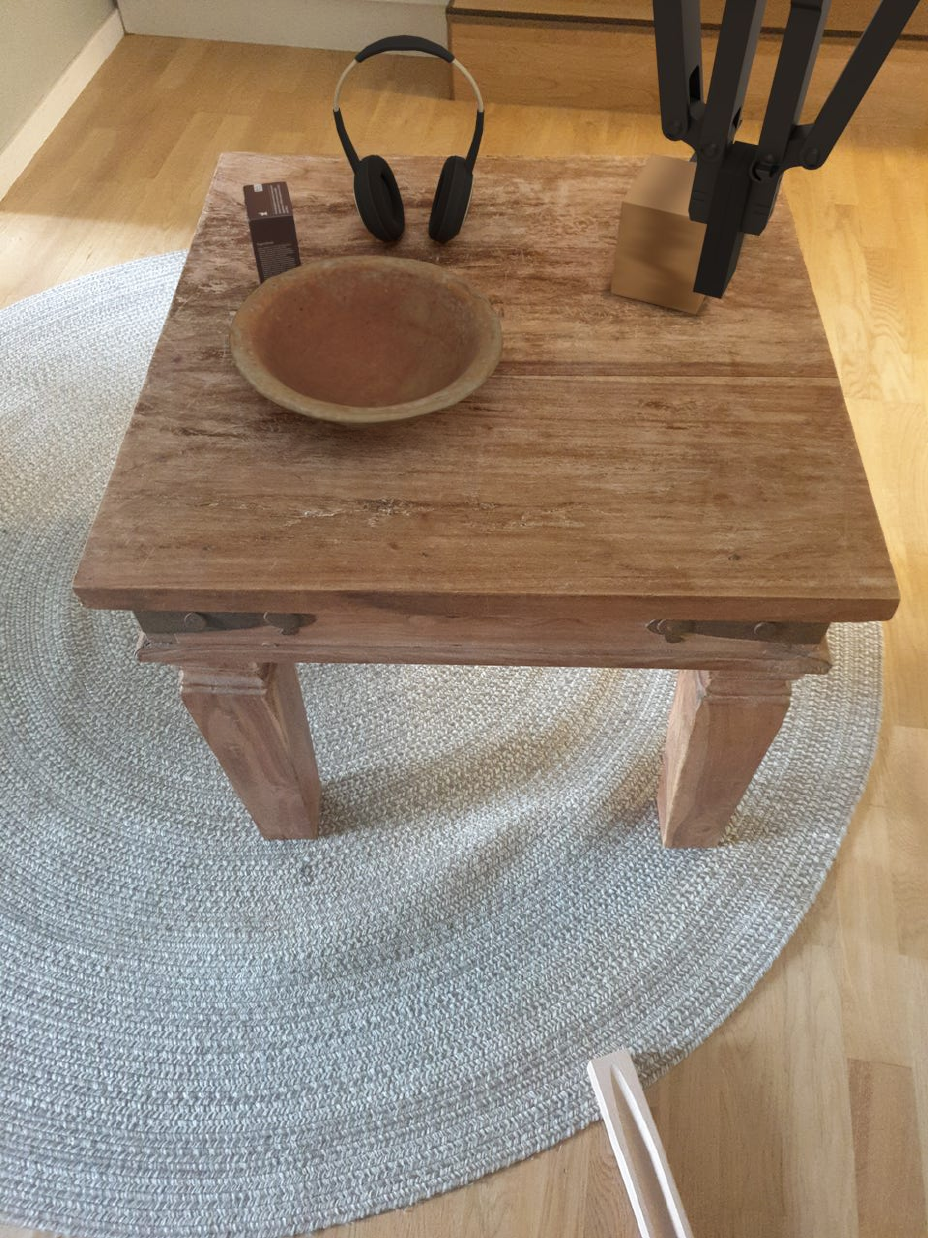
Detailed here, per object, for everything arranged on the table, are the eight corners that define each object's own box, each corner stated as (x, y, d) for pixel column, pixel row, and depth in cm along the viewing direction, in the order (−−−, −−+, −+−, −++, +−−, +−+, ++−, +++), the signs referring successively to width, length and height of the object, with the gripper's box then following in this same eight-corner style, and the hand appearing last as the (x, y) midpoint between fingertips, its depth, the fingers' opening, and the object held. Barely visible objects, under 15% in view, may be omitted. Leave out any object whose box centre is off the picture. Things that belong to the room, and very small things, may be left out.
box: (314, 325, 92) (293, 213, 82) (269, 332, 92) (243, 221, 82) (307, 289, 96) (286, 177, 86) (263, 295, 95) (237, 184, 85)
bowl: (526, 463, 81) (530, 393, 75) (255, 504, 79) (234, 436, 72) (475, 298, 94) (474, 226, 88) (242, 330, 92) (223, 259, 86)
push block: (720, 264, 97) (742, 172, 88) (695, 314, 92) (716, 222, 84) (638, 244, 99) (651, 152, 91) (610, 292, 94) (621, 200, 86)
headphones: (483, 260, 98) (482, 59, 81) (345, 258, 99) (316, 58, 82) (486, 214, 103) (486, 15, 86) (354, 212, 103) (329, 15, 87)
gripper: (1107, -398, 29) (857, 270, 48) (699, -419, 32) (620, 213, 51) (1085, -343, 25) (823, 358, 44) (626, -374, 28) (570, 290, 48)
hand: (714, 280), depth 48 cm, fingers closed
